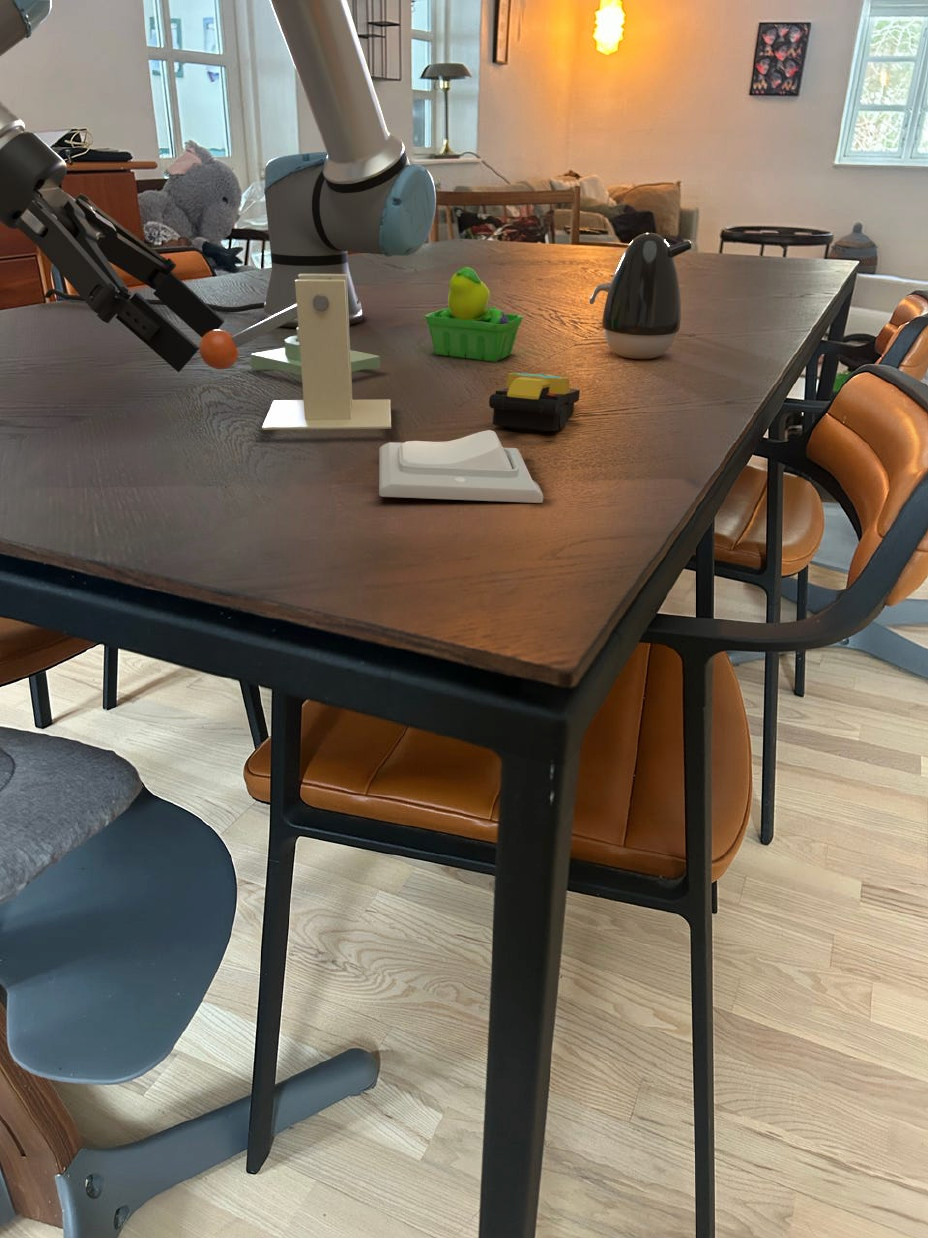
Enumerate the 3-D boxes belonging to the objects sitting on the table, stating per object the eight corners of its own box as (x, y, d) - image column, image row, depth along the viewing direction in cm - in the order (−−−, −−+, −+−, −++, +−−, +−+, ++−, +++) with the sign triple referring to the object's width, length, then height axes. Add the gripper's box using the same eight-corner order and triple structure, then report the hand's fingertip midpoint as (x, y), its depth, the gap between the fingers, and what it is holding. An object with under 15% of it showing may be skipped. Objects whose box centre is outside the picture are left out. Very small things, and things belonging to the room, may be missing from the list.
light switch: (548, 460, 67) (380, 453, 66) (542, 511, 69) (378, 505, 68) (527, 421, 77) (380, 414, 75) (522, 467, 79) (378, 460, 77)
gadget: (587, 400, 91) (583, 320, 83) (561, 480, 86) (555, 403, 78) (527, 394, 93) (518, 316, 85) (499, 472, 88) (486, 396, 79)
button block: (252, 372, 107) (248, 338, 105) (314, 359, 113) (312, 327, 112) (318, 388, 100) (315, 352, 98) (380, 374, 107) (379, 340, 105)
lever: (209, 379, 82) (188, 343, 81) (215, 370, 85) (195, 336, 84) (344, 312, 80) (325, 274, 79) (346, 306, 84) (327, 269, 82)
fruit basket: (523, 353, 118) (527, 264, 113) (498, 366, 111) (501, 271, 106) (447, 345, 123) (447, 258, 117) (418, 357, 115) (417, 265, 110)
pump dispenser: (678, 365, 113) (694, 237, 106) (597, 360, 115) (607, 234, 108) (677, 349, 122) (692, 230, 115) (602, 345, 124) (612, 228, 117)
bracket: (262, 440, 82) (247, 284, 76) (274, 412, 91) (261, 269, 84) (391, 439, 83) (387, 284, 77) (390, 411, 92) (386, 270, 85)
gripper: (27, 190, 86) (202, 347, 94) (-95, 204, 64) (147, 407, 73) (72, 129, 84) (247, 295, 92) (-38, 122, 62) (204, 341, 70)
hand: (203, 345), depth 82 cm, fingers open, 13 cm apart
